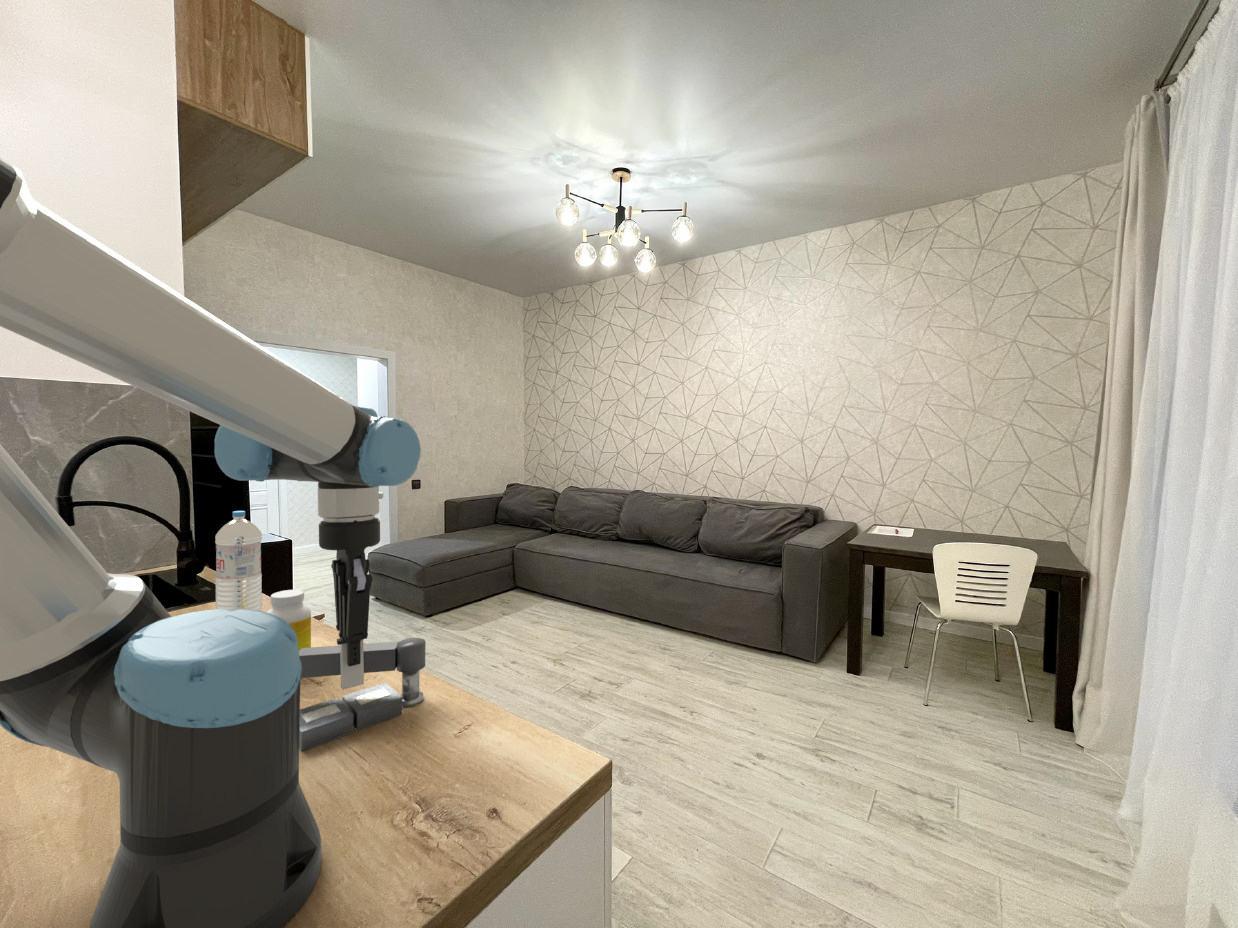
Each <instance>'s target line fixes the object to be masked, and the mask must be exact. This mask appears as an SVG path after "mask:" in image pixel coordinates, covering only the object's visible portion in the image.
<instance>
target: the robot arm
mask: <svg viewBox="0 0 1238 928" xmlns="http://www.w3.org/2000/svg"><path fill="white" fill-rule="evenodd" d="M0 328H3V329H5V330H7V331H10V332H12V333H14V334H17V335H19V336H21V337H24V338H26V339H28V340H29V341H32V342H34V343H37V344H39V345H41V346H43V347H45V348H48V349H51V350H52V351H54V352H57V353H59V354H62V355H63V356H66V357H68V358H71V359H73V360H75V361H76V362H79V363H82V364H84V365H86V366H88V367H91V368H92V369H94V370H97V371H99V372H101V373H104V374H106V375H108V376H110V377H113V378H115V379H118V380H120V381H121V382H123V383H126V384H128V385H131V386H133V387H135V388H137V389H139V390H142V391H144V392H146V393H149V394H150V395H153V396H155V397H157V398H159V399H162V400H164V401H166V402H169V403H171V404H173V405H175V406H177V407H180V408H182V409H184V410H186V411H189V412H190V413H193V414H196V415H197V416H200V417H202V418H204V419H207V420H209V421H210V422H213V423H215V424H218V425H219V427H218V428H217V431H216V434H215V436H214V437H215V438H214V457H215V460H216V464H217V465H218V467H219V469H220V470H221V471H222V473H224V474H225V476H227V477H229V478H230V479H233V480H236V481H240V482H241V481H244V482H245V481H256V482H265V481H271V480H278V481H279V480H284V481H286V480H287V481H299V482H313V483H317V516H318V517H320V518H322V520H321V521H320V522H319V523H318V546H319V547H320V548H321V549H322V550H326V551H336V559H332V563H331V569H332V575H333V576H332V577H333V590H334V604H335V605H334V607H335V620H336V622H335V623H336V625H335V628H336V631H337V632H338V638H337V639H336V644H337V645H336V646H340V664H341V675H340V688H341V690H343V691H344V690H347V689H351V688H354V687H359V686H362V685H365V678H364V677H365V675H364V674H365V673H364V658H363V644H364V640H366V639H368V635H369V632H368V631H369V629H368V628H369V613H370V597H371V595H370V594H371V588H372V582H373V576H372V574H370V573H369V572H370V560H369V559H368V558H367V559H366V553H365V550H366V549H367V548H369V547H374V546H377V545H378V544H380V542H381V520H380V519H379V518H378V517H376V516H377V515H378V514H380V500H382V499H384V494H383V492H382V491H380V487H396V486H399V485H402V484H405V483H406V482H407V481H409V479H411V478H412V476H413V475H414V474H415V473H416V471H417V469H418V465H419V461H420V459H421V453H422V452H421V450H422V449H421V443H420V439H419V436H418V434H417V431H416V430H415V429H414V427H413V426H412V425H411V424H410V423H408V422H407V421H405V420H403V419H400V418H394V417H390V416H385V415H379V416H378V413H377V411H376V410H374V409H373V408H371V407H367V406H362V405H361V406H360V405H353V404H352V403H350V402H349V401H347V400H346V399H344V398H343V397H341V396H339V395H338V394H336V393H335V392H333V391H332V390H330V389H329V388H327V387H326V386H325V385H322V384H321V383H319V382H317V381H316V380H314V379H313V378H312V377H310V376H308V375H307V374H305V373H303V372H302V371H301V370H299V369H298V368H295V367H294V366H292V365H291V364H290V363H288V362H287V361H285V360H283V359H282V358H280V357H278V356H277V355H276V354H274V353H273V352H271V351H269V350H268V349H266V348H265V347H263V346H262V345H260V344H258V343H256V342H255V341H254V340H252V339H250V338H249V337H247V336H246V335H245V334H243V333H241V332H240V331H238V330H236V329H235V328H233V327H232V326H230V325H229V324H227V323H226V322H224V321H222V320H221V319H219V318H218V317H216V316H215V315H213V314H211V313H210V312H208V311H207V310H205V309H204V308H202V307H201V306H199V305H198V304H196V303H195V302H193V301H191V300H190V299H188V298H187V297H185V296H183V295H182V294H180V293H179V292H177V291H176V290H174V289H173V288H171V287H170V286H168V285H167V284H165V283H163V282H162V281H160V280H159V279H157V278H155V277H154V276H152V275H151V274H150V273H148V272H146V271H144V270H143V269H141V268H140V267H139V266H136V265H135V264H134V263H133V262H131V261H129V260H128V259H126V258H124V257H123V256H121V255H120V254H118V253H117V252H115V251H114V250H112V249H111V248H109V247H107V246H106V245H104V244H102V243H101V242H100V241H98V240H96V239H95V238H93V237H92V236H90V235H89V234H87V233H86V232H84V231H83V230H81V229H79V228H78V227H76V226H74V225H73V224H71V223H70V222H68V221H67V220H66V219H63V218H62V217H60V215H57V214H55V212H53V211H51V210H49V209H48V208H47V207H46V206H43V205H41V203H39V202H38V201H36V200H35V199H34V198H33V197H32V196H31V192H30V191H29V188H28V186H27V183H26V181H25V178H24V176H23V172H22V171H21V170H20V169H19V168H17V167H15V166H14V165H12V164H11V163H10V162H8V161H6V160H5V159H3V158H2V157H0ZM368 573H369V574H368ZM266 612H267V611H266ZM266 612H265V611H263V610H262V611H257V610H249V609H238V610H235V611H227V610H226V609H216V608H213V609H205V610H197V611H191V612H186V613H181V614H177V615H173V616H172V615H171V614H170V613H169V612H168V611H167V610H166V608H165V607H164V605H162V603H161V601H159V599H158V597H156V596H155V594H154V593H153V592H152V591H151V589H150V588H149V587H148V585H147V584H146V583H145V582H144V581H143V580H142V579H141V578H140V577H139V576H137V575H133V574H128V573H127V574H126V573H124V574H123V573H109V572H107V570H105V569H104V567H103V566H102V565H101V563H100V562H99V561H98V560H97V559H96V558H95V556H94V555H93V554H92V553H91V551H90V550H89V549H88V548H87V547H86V546H85V544H84V543H83V542H82V540H81V539H80V538H79V537H78V536H77V535H76V533H75V532H74V531H73V530H72V528H71V527H70V526H69V525H68V524H67V522H65V520H64V519H63V518H62V517H61V516H60V514H59V513H58V512H57V511H56V510H55V508H54V507H53V506H52V504H51V503H50V502H49V500H48V499H46V497H45V496H44V495H43V494H42V492H41V491H40V490H39V489H38V488H37V487H36V485H35V484H34V483H33V482H32V480H31V479H30V478H29V477H28V476H27V474H26V473H25V472H24V470H22V469H21V467H20V465H18V464H17V463H16V461H15V460H14V459H13V458H12V456H11V455H10V454H9V453H8V451H6V449H5V448H4V447H3V446H2V445H1V443H0V727H2V728H3V729H4V730H5V731H7V732H8V733H9V734H10V735H13V736H14V737H16V738H18V739H19V740H22V741H24V742H27V743H29V744H33V745H36V746H41V747H45V748H46V747H47V748H49V749H53V750H56V751H59V752H60V753H63V754H67V755H69V756H71V757H74V758H77V759H80V760H83V761H85V762H87V763H91V764H93V765H94V766H97V767H100V768H103V769H104V770H108V771H110V772H114V773H115V774H116V775H117V777H118V781H119V819H120V824H119V825H120V830H119V831H120V841H119V843H120V844H119V847H118V849H117V851H116V855H115V857H114V860H113V863H112V865H111V868H110V870H109V873H108V875H107V878H106V880H105V884H104V886H103V889H102V891H101V893H100V896H99V899H98V900H97V901H98V902H97V905H96V906H95V907H96V908H95V910H94V911H93V914H92V917H91V921H90V924H89V928H282V927H284V926H285V925H286V924H287V923H288V922H289V921H290V920H291V919H292V918H293V917H294V916H295V914H296V913H297V912H298V911H299V909H301V907H302V906H303V904H304V903H306V901H307V899H308V898H309V896H310V894H311V893H312V891H313V890H314V887H315V886H316V885H317V884H316V883H317V881H318V879H319V876H320V871H321V868H322V836H321V831H320V828H319V826H318V823H317V821H316V818H315V816H314V814H313V812H312V810H311V808H310V807H311V806H310V804H309V803H308V801H307V798H306V796H305V793H304V792H303V789H302V787H301V785H300V779H299V778H300V748H299V730H300V709H301V680H302V678H301V672H302V666H301V661H300V657H299V649H298V640H297V636H296V633H295V631H294V629H293V628H292V627H291V626H290V624H288V623H287V622H286V621H285V620H283V619H281V618H280V617H277V616H275V615H273V614H270V613H266Z"/></svg>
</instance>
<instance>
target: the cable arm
mask: <svg viewBox="0 0 1238 928" xmlns="http://www.w3.org/2000/svg"><path fill="white" fill-rule="evenodd" d="M426 646H427V645H426V639H424V638H421V637H410V638H405V639H402V640H399V641H389V642H388V641H387V642H373V643H363V658H364V674H371V673H382V672H394V671H397V672H399V673H402V672H403V673H410V672H415V671H419V670H422V669H424V668H425V667H426ZM299 657H300V661H301V666H302V672H301V679H305V678H307V679H309V678H320V677H333V676H341V664H340V645H330V646H329V645H328V646H315V647H314V646H313V647H312V646H311V648H301V650H300V651H299Z"/></svg>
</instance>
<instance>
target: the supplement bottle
mask: <svg viewBox="0 0 1238 928" xmlns="http://www.w3.org/2000/svg"><path fill="white" fill-rule="evenodd" d="M304 599H305V592H304V590H303V589H302V590H301V589H287V590H285V589H284V590H280V591H277V592H274V593H272V594H271V595H270V603H271V605H272V607H271V608H270V609H268V610H267V611H266V613H270V614H273V615H275V616H277V617H280V618H281V619H283V620H285V621H286V622H287V623H288V624H290V626H291V627H292V628H293V629H294V631H295V633H296V636H297V640H298V649H299V651H300V650H301V648H311V647H312V613H311V612H312V611H311V609H310V607H309V606H308V605H306V604H304V602H303V601H304Z"/></svg>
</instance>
